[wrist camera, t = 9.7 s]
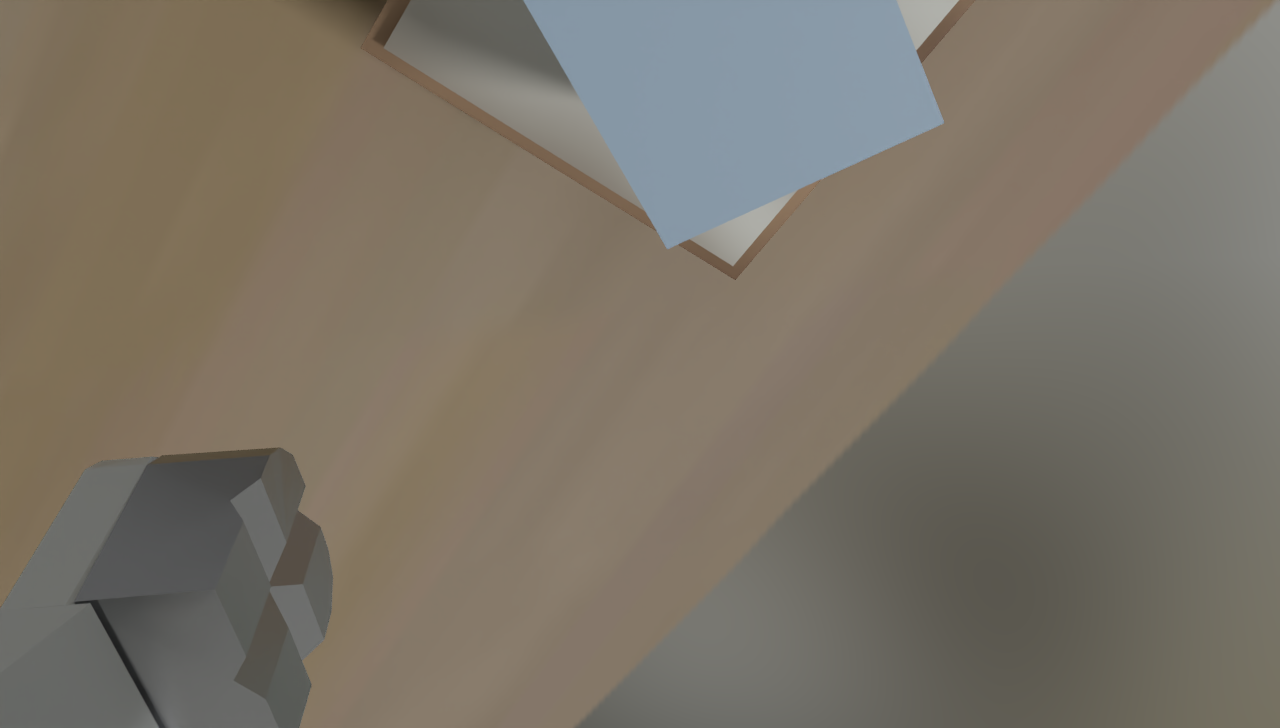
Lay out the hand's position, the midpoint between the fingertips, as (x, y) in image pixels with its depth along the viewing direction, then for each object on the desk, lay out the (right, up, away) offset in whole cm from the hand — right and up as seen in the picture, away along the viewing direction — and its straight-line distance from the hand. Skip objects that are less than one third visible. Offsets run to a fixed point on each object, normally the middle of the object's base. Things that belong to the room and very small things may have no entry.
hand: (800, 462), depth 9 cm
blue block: (0, +9, +13) cm, 16 cm away
